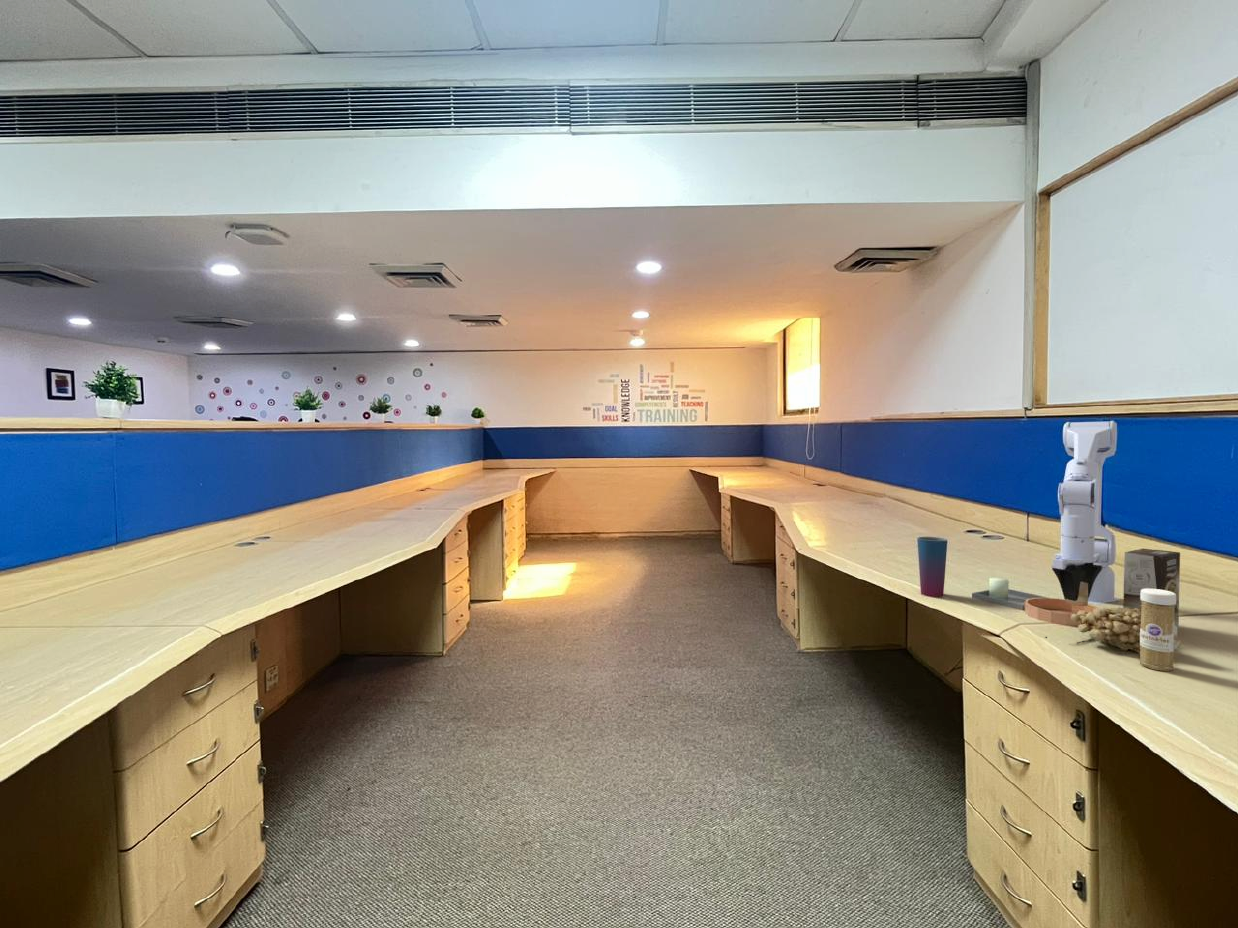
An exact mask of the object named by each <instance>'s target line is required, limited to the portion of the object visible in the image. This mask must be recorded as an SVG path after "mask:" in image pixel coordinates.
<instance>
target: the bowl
mask: <svg viewBox="0 0 1238 928" xmlns="http://www.w3.org/2000/svg"><path fill="white" fill-rule="evenodd" d="M1096 608H1098V607H1097V606H1095V605H1092V604H1089V603H1088V605H1087V606H1077V605H1070V604H1067V603H1065V602H1064V598H1054V597H1052V598H1051V597H1048V598H1031V599H1027V600H1026V601H1025V610H1024V614H1025V615H1027V616H1028V617H1030V618H1033V619H1034V620H1038V621H1042V622H1046V623H1049V624H1056V625H1060V626H1061V625H1062V626H1070V627H1078V626H1079V625H1081V624H1082V623H1081V622H1080V621H1078V622H1074V621H1073V620H1071V615H1072V614H1077V613H1078V612H1079V611H1080V610H1081V611H1086V612H1093V610H1094V609H1096Z"/></svg>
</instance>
